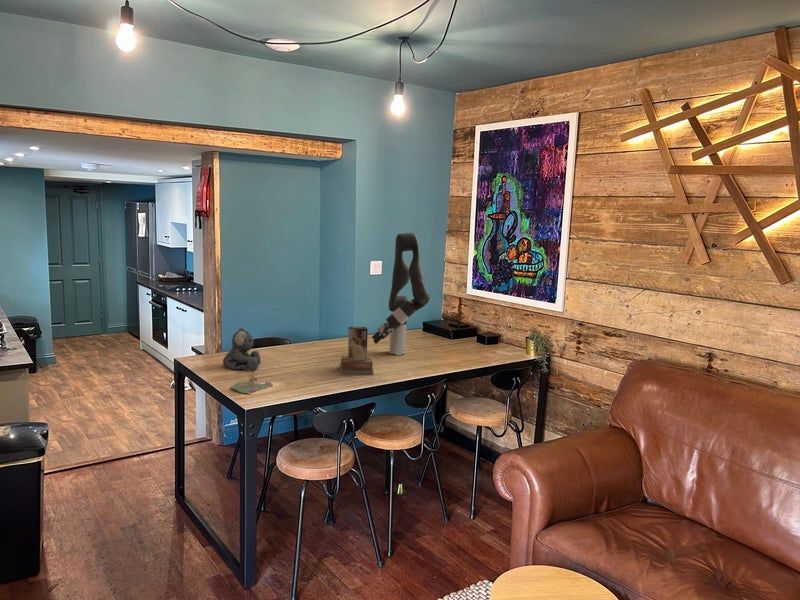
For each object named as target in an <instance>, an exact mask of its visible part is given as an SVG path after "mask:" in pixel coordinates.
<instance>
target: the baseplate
mask: <svg viewBox="0 0 800 600" xmlns="http://www.w3.org/2000/svg"><path fill="white" fill-rule="evenodd" d="M339 371H340V375H357V374H360V376H361V374H362V375H364V376H365V375H366V376H367V375H369V376H372V375H374V368H373V367H372V370H342V367H341V362H340V363H339Z"/></svg>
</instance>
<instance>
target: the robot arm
mask: <svg viewBox="0 0 800 600" xmlns="http://www.w3.org/2000/svg"><path fill="white" fill-rule="evenodd" d="M394 249H395V250H394V263H393V270H392V277H391V278H392V279H391V289H390V293H389V300H388V310H389V311H390V312H391V313H390V315H389V316H388V317H387V318H385V321H386V322H384V323H383V324H382V325H381V326H380V327H379V328H377V331H376V332H375V333H374V334H373V335H372V336H371V338H372V339H373V341H372V342H373V343H374V344H375V345H377V344H378V343H379V342H380V341H381V340H385V339H386V337H388V336H389V345H388V353H389V354H390V355H393V354H395V355H394V356H403V355H402V354H404V355H405V354H406V345H407V344H406V343H407V342H406V340H407V322H408V319H409V318H410V317H411V316H413V314H415V312H417V311H418V310H420V309H422V308H423V307H425V306H426V305H427V304H428V303H429V301H430V294H429V293H428V291H427V290H426V286H425V282H426V281H425V277H424V273H423V269H422V262H421V253H420V245H419V240H418V237H417V234H416V233H414V232H407V233H406V232H405V233H399V234H397V235H396V237H395V247H394ZM410 251H411V252H412V259H411V261H410V265H409V264H408V262H407V261H406V260H405V258H404V256H403V253H404V252H410ZM409 281H410V284H411V292H412V297H413V299H412V298H411V300H409V299H408V296H405V295H398V294H399V293H400V291H401V290H402V289H403V288H404V287H406V285H407V284H408V283H409Z"/></svg>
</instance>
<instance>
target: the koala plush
mask: <svg viewBox="0 0 800 600" xmlns="http://www.w3.org/2000/svg"><path fill="white" fill-rule="evenodd" d="M256 344H257V343H256V340H255V339H254V338H253V336H252V335H251V334H250V332H249V331H248V330H247V329H246V328H245V327H242V326H241V327H240V328H239V329H238V330H237V331H236V332H235V333H234V334H233V335H232V339H231V345H232V347H231V349H230V350H229V351H228V352H227V353H226V354H225V356H224V357H223V359H222V363H223V366H224V367H225V368H228V369H230V370H233V369H235V370H234V371H237V369H238V370H239V369H243V370H242V371H245V370H246V371H247V370H253V371H256V370H258V369H259V365H260V364H261V360H262V359H261V356H260V353H259V351H258V350H253V351H251V353H249V351H250V350H251V349H252V348H254V346H256Z"/></svg>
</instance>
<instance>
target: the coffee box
mask: <svg viewBox="0 0 800 600" xmlns="http://www.w3.org/2000/svg"><path fill="white" fill-rule="evenodd" d="M347 335H348V337H347V338H348V340H347V341H348V344H347V356H348V359H349V360H367V356H368V328H367V326H348V334H347Z"/></svg>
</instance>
